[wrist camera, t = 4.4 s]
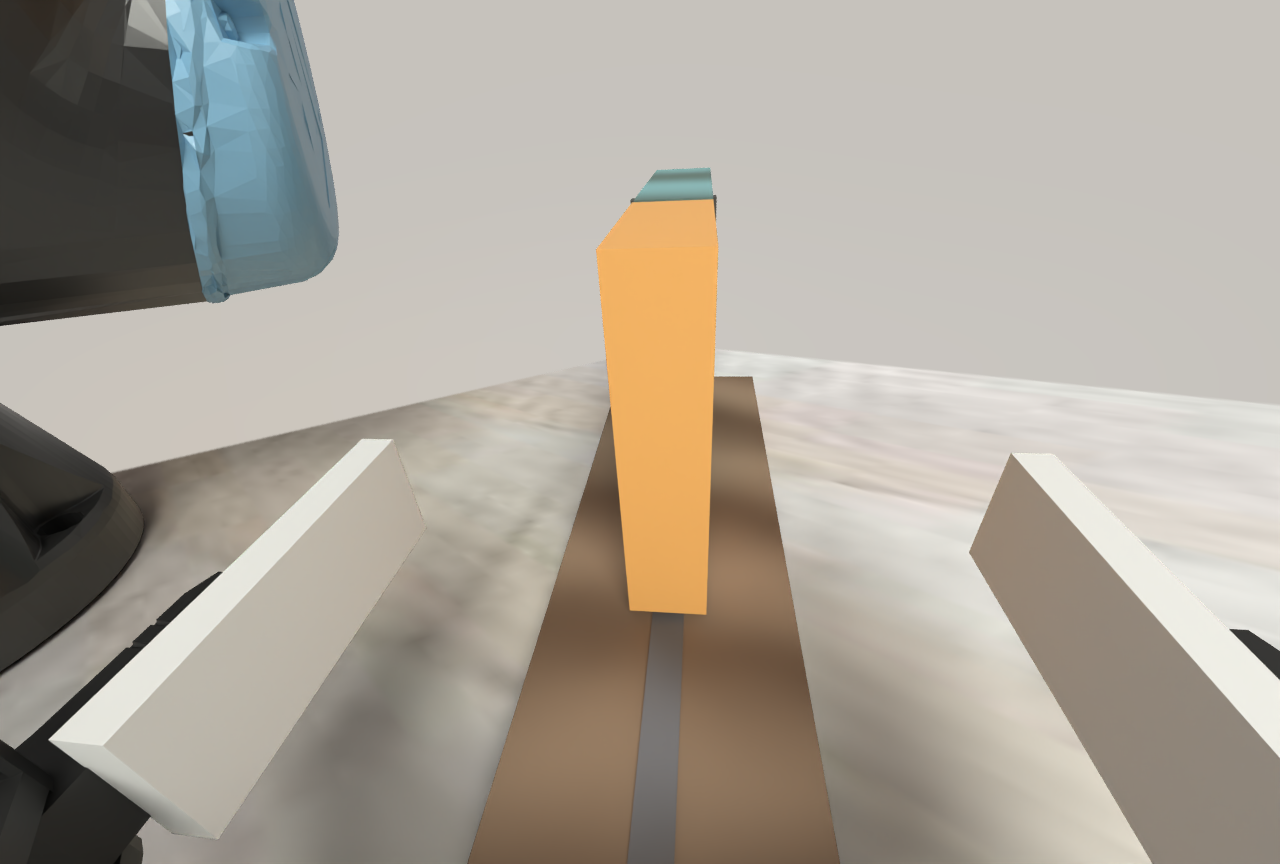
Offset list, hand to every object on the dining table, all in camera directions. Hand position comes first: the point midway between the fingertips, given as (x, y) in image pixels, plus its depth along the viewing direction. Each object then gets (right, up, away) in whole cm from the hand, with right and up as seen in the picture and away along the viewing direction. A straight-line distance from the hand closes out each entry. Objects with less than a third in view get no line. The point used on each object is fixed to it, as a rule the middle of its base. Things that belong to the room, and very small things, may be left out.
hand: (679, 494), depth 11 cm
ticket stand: (+1, -3, +10) cm, 10 cm away
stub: (0, -3, +7) cm, 7 cm away
